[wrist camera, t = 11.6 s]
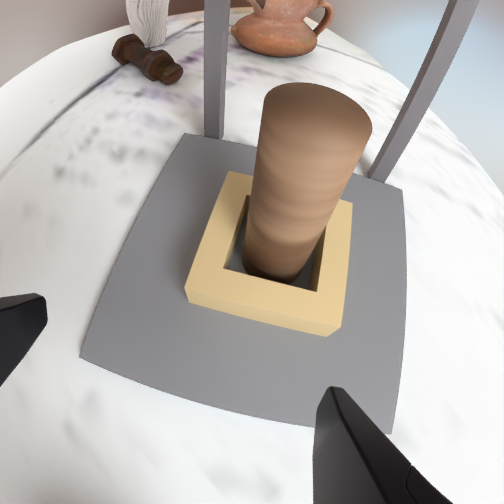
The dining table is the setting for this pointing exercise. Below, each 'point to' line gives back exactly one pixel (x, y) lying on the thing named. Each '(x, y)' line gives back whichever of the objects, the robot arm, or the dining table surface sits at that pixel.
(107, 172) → the dining table surface
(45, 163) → the dining table surface
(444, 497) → the robot arm
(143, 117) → the dining table surface
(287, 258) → the walnut peg
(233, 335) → the socket stand
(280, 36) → the ceramic jug
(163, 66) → the bolt
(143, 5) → the shell sculpture
